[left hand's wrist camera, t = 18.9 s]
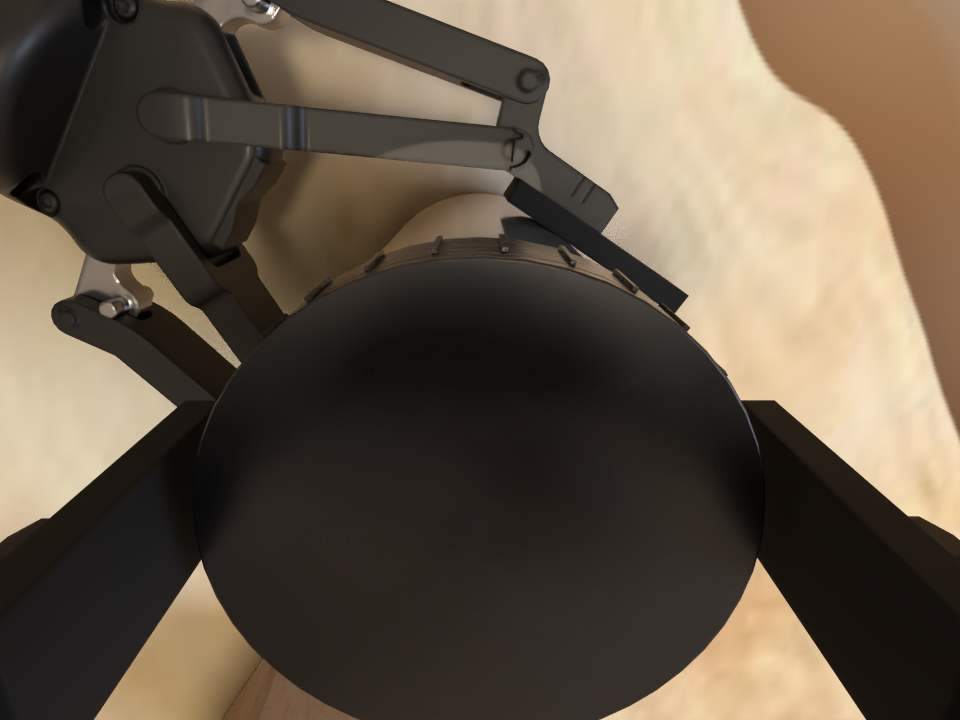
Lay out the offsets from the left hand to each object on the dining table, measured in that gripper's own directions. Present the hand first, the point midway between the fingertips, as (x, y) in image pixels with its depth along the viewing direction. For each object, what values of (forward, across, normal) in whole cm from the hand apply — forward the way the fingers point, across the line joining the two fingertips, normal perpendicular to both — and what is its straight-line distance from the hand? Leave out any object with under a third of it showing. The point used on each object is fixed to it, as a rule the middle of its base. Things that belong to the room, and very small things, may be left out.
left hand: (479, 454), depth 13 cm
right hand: (+8, -4, +2) cm, 9 cm away
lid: (-3, 0, 0) cm, 3 cm away
